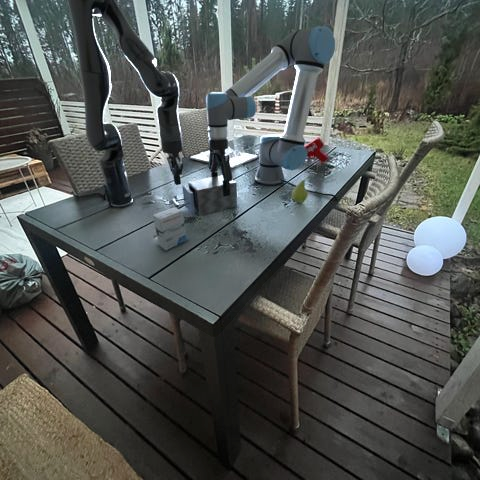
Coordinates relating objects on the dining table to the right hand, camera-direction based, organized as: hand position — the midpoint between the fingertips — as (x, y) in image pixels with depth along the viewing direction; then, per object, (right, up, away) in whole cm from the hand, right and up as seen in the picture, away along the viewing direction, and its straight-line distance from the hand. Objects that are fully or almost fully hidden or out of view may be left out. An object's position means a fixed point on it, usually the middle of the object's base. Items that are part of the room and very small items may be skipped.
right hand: (220, 191), depth 117 cm
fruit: (+35, -4, +5) cm, 35 cm away
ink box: (-15, -22, -23) cm, 35 cm away
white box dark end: (-3, -6, +2) cm, 7 cm away
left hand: (-16, +1, -11) cm, 19 cm away
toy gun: (+52, +28, +55) cm, 81 cm away
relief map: (-2, +33, +63) cm, 71 cm away
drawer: (-9, -7, -1) cm, 11 cm away
